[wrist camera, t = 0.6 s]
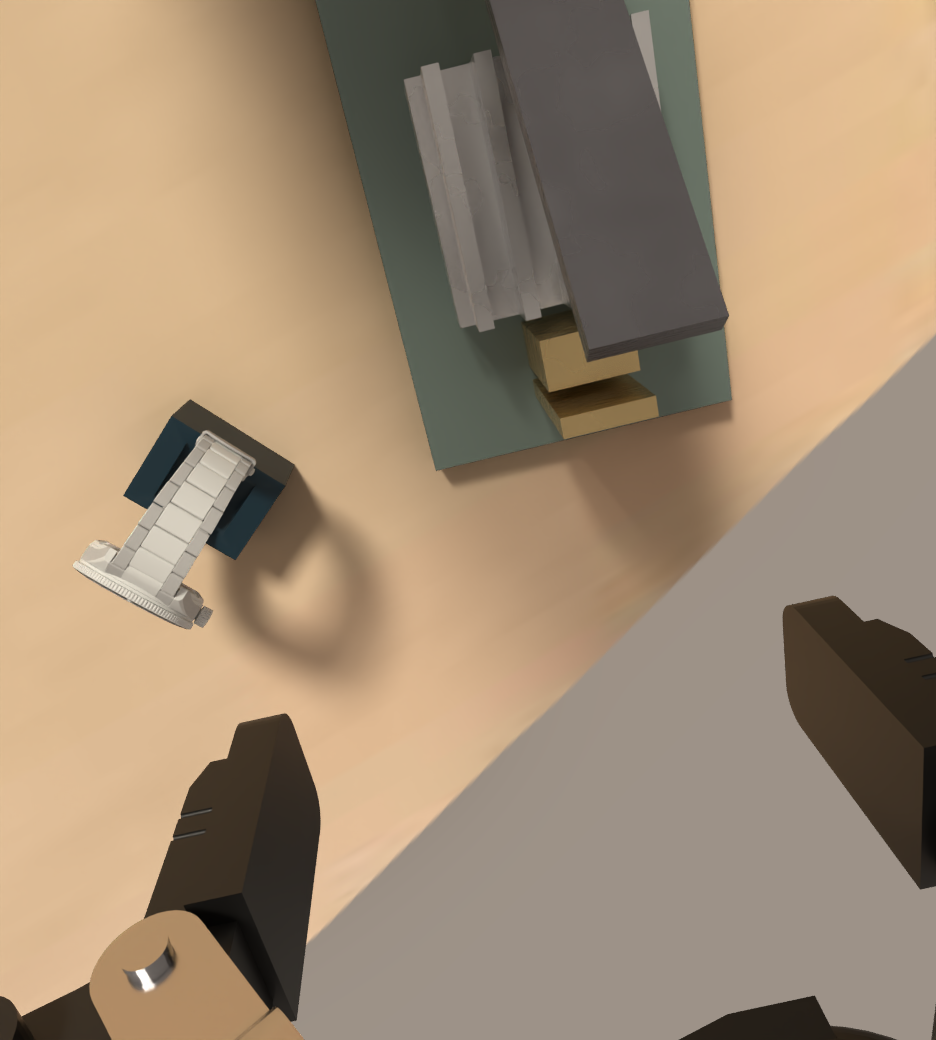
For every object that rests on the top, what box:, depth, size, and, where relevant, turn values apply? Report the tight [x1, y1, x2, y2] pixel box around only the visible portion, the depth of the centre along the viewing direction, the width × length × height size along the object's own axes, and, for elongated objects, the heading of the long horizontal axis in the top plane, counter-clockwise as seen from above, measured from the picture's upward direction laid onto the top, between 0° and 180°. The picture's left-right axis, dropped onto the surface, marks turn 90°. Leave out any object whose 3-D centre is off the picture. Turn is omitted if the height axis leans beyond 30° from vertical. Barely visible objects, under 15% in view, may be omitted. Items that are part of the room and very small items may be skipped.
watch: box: [73, 400, 294, 629], centre depth 33 cm, size 6×8×11 cm
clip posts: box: [521, 310, 659, 439], centre depth 30 cm, size 19×5×7 cm, turn 13°
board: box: [315, 0, 732, 471], centre depth 34 cm, size 22×14×2 cm, turn 13°
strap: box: [484, 0, 729, 362], centre depth 23 cm, size 17×4×2 cm
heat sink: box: [404, 10, 661, 332], centre depth 31 cm, size 9×9×5 cm
